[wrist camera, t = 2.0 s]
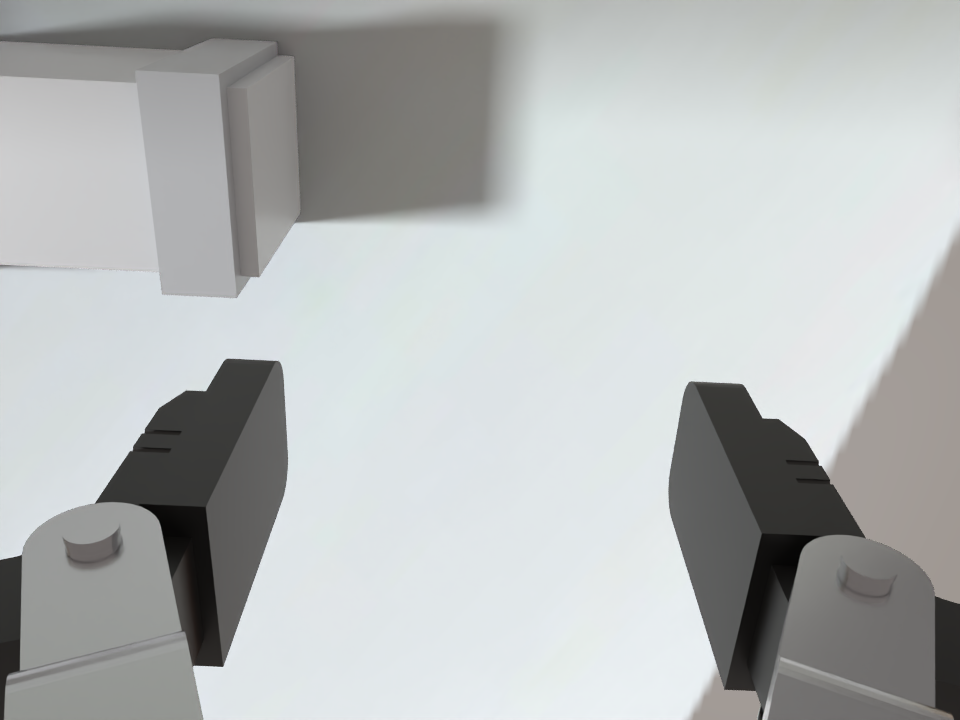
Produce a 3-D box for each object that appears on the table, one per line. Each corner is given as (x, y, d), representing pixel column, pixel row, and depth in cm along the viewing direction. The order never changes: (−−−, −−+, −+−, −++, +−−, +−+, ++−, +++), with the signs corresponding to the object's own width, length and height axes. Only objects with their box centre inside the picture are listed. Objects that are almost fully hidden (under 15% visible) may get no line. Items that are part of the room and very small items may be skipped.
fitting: (2, 209, 30) (-119, 281, 24) (-35, 25, 27) (-181, 54, 21) (301, 223, 30) (255, 298, 24) (293, 42, 27) (239, 75, 21)
